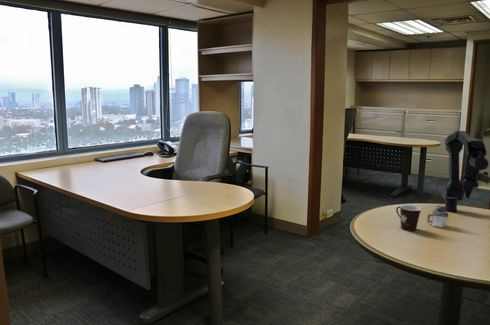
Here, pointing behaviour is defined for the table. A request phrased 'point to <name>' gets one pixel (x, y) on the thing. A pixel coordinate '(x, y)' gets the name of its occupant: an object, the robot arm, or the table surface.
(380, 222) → the table surface
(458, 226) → the table surface
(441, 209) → the plunger
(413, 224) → the coffee mug
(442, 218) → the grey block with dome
